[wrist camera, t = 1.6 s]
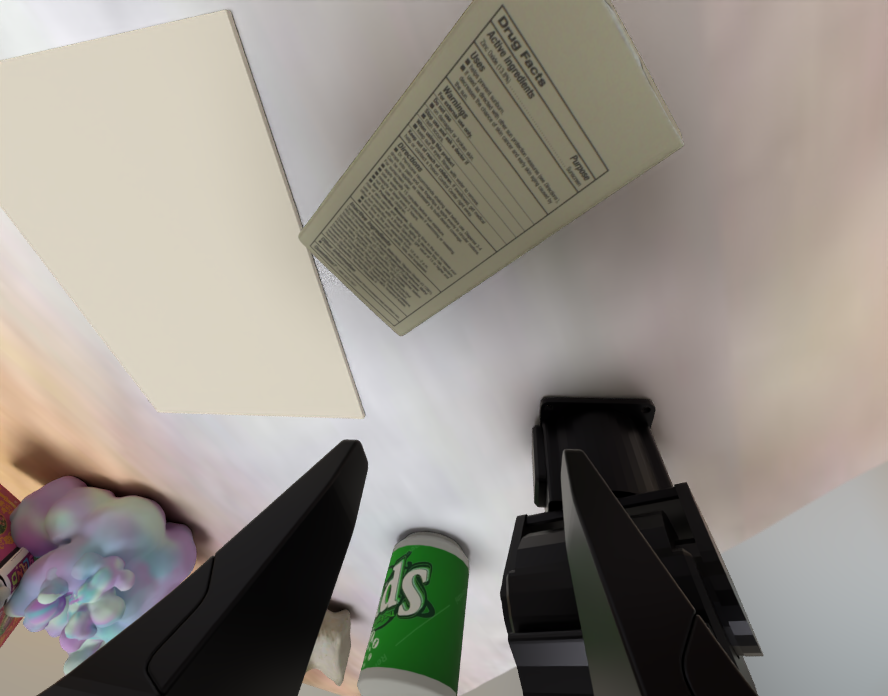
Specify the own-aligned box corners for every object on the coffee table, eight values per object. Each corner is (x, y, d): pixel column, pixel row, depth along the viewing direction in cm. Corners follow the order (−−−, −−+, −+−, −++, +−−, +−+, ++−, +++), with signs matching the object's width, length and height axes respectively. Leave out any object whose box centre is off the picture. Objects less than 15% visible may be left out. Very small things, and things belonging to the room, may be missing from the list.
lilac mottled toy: (213, 620, 46) (56, 808, 28) (51, 591, 47) (-200, 756, 29) (229, 465, 44) (73, 560, 27) (61, 438, 45) (-198, 513, 27)
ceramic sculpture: (324, 709, 46) (214, 662, 45) (352, 630, 53) (258, 587, 52) (347, 696, 40) (221, 641, 39) (376, 608, 47) (270, 559, 46)
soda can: (461, 527, 33) (439, 708, 23) (477, 568, 37) (463, 738, 27) (385, 525, 35) (335, 692, 25) (408, 565, 39) (372, 722, 29)
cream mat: (230, 11, 14) (225, 9, 14) (365, 415, 26) (363, 418, 26) (-87, 82, 18) (-95, 82, 18) (160, 409, 30) (157, 412, 30)
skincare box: (427, 293, 20) (667, 126, 13) (398, 342, 17) (695, 157, 9) (340, 196, 18) (566, -73, 10) (286, 232, 15) (558, -120, 7)
